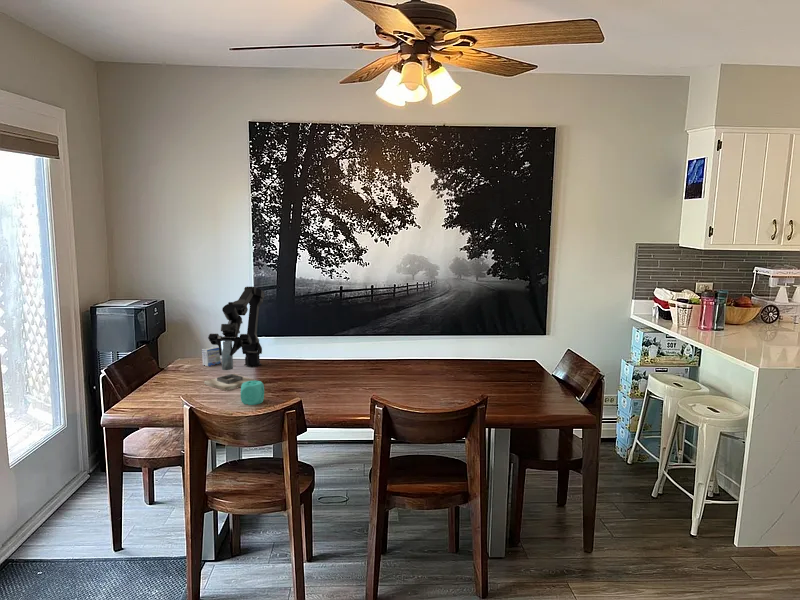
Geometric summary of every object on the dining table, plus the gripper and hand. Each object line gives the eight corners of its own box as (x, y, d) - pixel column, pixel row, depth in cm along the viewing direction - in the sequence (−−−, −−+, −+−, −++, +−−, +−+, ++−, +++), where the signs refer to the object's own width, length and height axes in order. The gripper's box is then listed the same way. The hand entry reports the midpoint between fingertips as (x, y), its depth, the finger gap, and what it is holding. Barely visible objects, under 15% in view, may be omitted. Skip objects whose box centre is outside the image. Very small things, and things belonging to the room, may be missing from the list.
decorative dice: (264, 398, 248) (263, 380, 247) (261, 405, 240) (260, 385, 239) (245, 399, 248) (244, 380, 246) (241, 405, 240) (240, 386, 238)
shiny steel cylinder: (225, 367, 272) (223, 339, 270) (234, 367, 271) (233, 339, 269) (220, 369, 267) (218, 341, 266) (230, 370, 267) (228, 341, 265)
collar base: (234, 376, 281) (234, 370, 281) (255, 382, 271) (255, 376, 271) (204, 384, 269) (204, 378, 269) (225, 390, 259) (225, 384, 259)
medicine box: (207, 366, 300) (206, 350, 299) (202, 365, 303) (201, 348, 302) (221, 363, 307) (220, 347, 305) (215, 362, 309) (214, 346, 308)
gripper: (208, 316, 271) (199, 345, 261) (248, 316, 269) (240, 346, 260) (216, 329, 280) (207, 358, 270) (255, 330, 278) (247, 359, 269)
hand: (225, 355), depth 267 cm, fingers closed on shiny steel cylinder, 5 cm apart
